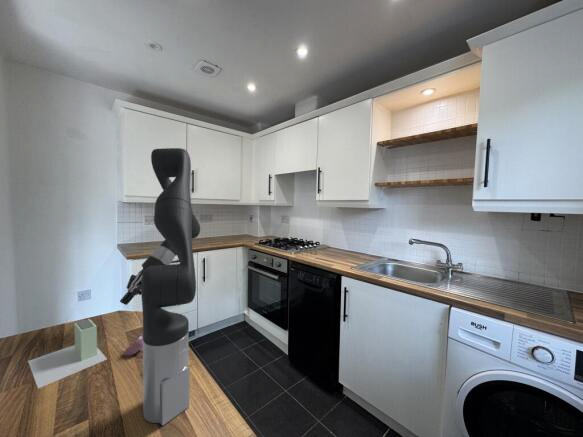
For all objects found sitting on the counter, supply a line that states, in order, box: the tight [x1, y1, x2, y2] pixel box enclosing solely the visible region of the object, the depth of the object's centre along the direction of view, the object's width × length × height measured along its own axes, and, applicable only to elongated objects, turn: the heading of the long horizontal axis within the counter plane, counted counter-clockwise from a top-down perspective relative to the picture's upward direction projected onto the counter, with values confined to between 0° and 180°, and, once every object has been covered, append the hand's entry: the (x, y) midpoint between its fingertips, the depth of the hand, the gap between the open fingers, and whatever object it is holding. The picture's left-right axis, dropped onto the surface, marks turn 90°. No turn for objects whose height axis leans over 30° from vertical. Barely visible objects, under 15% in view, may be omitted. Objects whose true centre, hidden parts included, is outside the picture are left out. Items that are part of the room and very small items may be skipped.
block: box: [73, 318, 98, 361], centre depth 71 cm, size 7×4×9 cm, turn 54°
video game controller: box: [124, 331, 143, 357], centre depth 75 cm, size 10×5×7 cm, turn 179°
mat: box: [27, 344, 108, 389], centre depth 68 cm, size 16×14×1 cm
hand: (123, 303), depth 79 cm, fingers closed
